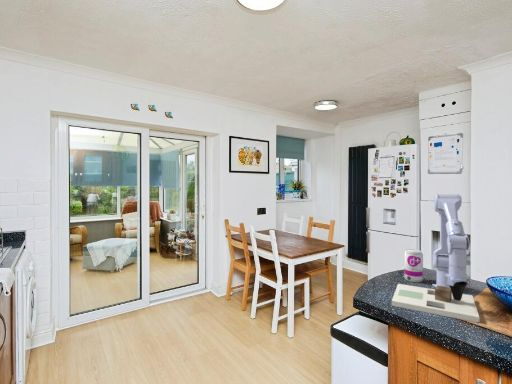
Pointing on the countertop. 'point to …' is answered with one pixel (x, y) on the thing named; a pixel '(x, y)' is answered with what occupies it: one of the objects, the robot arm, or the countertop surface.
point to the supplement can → (413, 265)
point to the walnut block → (443, 294)
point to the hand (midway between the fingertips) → (457, 299)
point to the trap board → (434, 303)
